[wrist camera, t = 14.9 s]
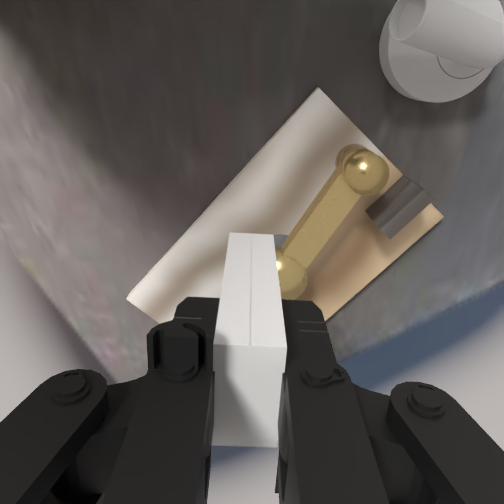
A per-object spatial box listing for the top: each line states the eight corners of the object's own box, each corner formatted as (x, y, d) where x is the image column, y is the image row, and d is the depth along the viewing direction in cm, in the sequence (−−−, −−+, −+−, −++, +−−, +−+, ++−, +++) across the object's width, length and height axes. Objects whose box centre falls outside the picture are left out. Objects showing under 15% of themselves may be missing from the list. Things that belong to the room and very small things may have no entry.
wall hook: (432, -79, 24) (598, -29, 25) (384, -38, 33) (507, -3, 33) (379, 85, 27) (527, 124, 28) (348, 82, 36) (461, 111, 37)
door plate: (129, 293, 43) (110, 326, 37) (316, 87, 36) (329, 89, 30) (248, 381, 47) (247, 423, 42) (438, 212, 40) (469, 236, 34)
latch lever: (285, 295, 40) (289, 323, 36) (245, 272, 39) (244, 298, 35) (386, 161, 36) (405, 174, 31) (343, 131, 35) (356, 140, 30)
